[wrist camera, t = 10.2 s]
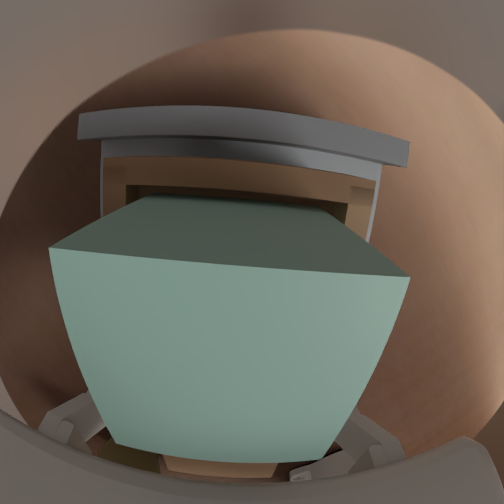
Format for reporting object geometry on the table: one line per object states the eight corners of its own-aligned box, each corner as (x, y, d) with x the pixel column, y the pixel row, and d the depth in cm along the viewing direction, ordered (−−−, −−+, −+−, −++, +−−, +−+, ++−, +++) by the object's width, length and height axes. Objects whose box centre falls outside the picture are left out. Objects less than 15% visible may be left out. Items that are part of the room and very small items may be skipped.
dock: (297, 377, 21) (312, 446, 14) (152, 366, 20) (130, 433, 13) (344, 144, 15) (409, 141, 8) (142, 127, 14) (79, 113, 7)
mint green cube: (293, 341, 8) (320, 458, 4) (158, 330, 7) (115, 442, 4) (319, 206, 6) (410, 277, 3) (152, 192, 6) (48, 247, 2)
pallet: (266, 423, 16) (272, 488, 11) (178, 417, 15) (166, 480, 10) (316, 168, 10) (376, 180, 5) (166, 155, 10) (103, 157, 5)
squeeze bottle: (93, 427, 24) (56, 536, 7) (136, 424, 23) (102, 559, 6) (134, 458, 27) (112, 557, 10) (178, 456, 26) (163, 572, 9)
